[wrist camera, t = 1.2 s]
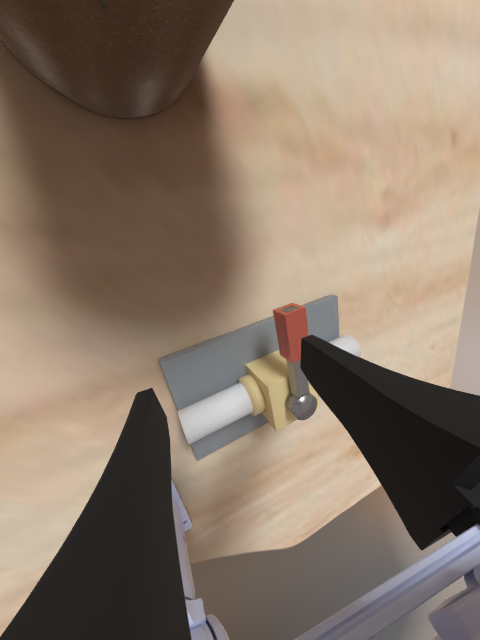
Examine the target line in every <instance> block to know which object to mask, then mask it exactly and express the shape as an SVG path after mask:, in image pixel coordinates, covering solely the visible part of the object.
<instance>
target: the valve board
mask: <svg viewBox="0 0 480 640" xmlns="http://www.w3.org/2000/svg"><path fill="white" fill-rule="evenodd" d="M301 306H303V307H306V316H307V326H308V335H314V336H317V337H319V338H321V339H323V340H325V341H327V342H329V343H331V344H333V345H335V346H337V347H339V348H341V349H343V350H345V351H347V352H349V353H351V354H353V355H355V356H358V357H360V355H361V349H360V346H359V344H358V342H357V341H356V340H355V339H354V338H353V337H351V336H349V335H343V336H341V337H339V318H338V297H337V296H335V295H328V296H326V297H323V298H320V299H317V300H315V301H312V302H309V303H307V304H304V305H301ZM159 363H160V366H161V368H162V371H163V374H164V376H165V379H166V381H167V384H168V387H169V389H170V392H171V394H172V397H173V399H174V402H175V405H176V407H177V410H178V415H179V419H180V422H181V425H182V428H183V431H184V434H185V436H186V439H187V442H188V444H189V445H190V444H191V446H192V449H193V451H194V454H195V457H196V459H197V460H199V459H201V458H203V457H205V456H206V455H208V454H210V453H212V452H214V451H216V450H217V449H219V448H221V447H223V446H225V445H227V444H229V443H230V442H232V441H234V440H236V439H238V438H240V437H242V436H243V435H245V434H247V433H249V432H251V431H253V430H254V429H256V428H258V427H260V426H262V425H264V424H266V423H267V422H270V424H271V425H272V426H273V428H274V429H275V430H276V431H278V430H279V429H281V428H283V427H285V426H287V425H288V424H290V423H292V422H294V421H295V420H297V418H296V417H295V416H294V415H293V414H292V413H291V412H290V411H289V410H288V409H287V407H286V400H287V397H288V395H289V394H290V393H291V389H290V383H289V376H288V369H287V362H286V359H285V358H284V357H282V356H281V355H280V352H279V346H278V339H277V333H276V327H275V320H274V316H272V317H269V318H267V319H264V320H261V321H259V322H256V323H253V324H250V325H248V326H245V327H242V328H240V329H237V330H234V331H232V332H229V333H226V334H224V335H221V336H218V337H216V338H213V339H210V340H208V341H205V342H202V343H200V344H197V345H194V346H192V347H189V348H186V349H183V350H181V351H178V352H175V353H173V354H170V355H167V356H165V357H162V358H159ZM308 383H309V381H308ZM309 392H310V393H311V394H312V395H313V396H315V397H316V399H317V408H319V401H318V393H317V392H316V391H315V390H314V388H313V387H312V386H311V384H310V383H309ZM317 408H316V409H317Z"/></svg>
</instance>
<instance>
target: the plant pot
mask: <svg viewBox="0 0 480 640" xmlns="http://www.w3.org/2000/svg"><path fill="white" fill-rule="evenodd" d="M233 1H234V0H0V40H1V42H2V43H3V44H4V45H5V46H6V47H7V49H8V50H9V51H10V52H11V53H12V54H13V55H14V56H15V57H16V58H17V59H18V61H19V62H20V63H21V64H22V65H23V66H24V67H25V68H26V69H28V70H29V71H30V72H31V73H32V74H33V75H34V76H35V77H37V78H38V79H39V80H40V81H42V82H43V83H45V84H47V85H49V86H50V87H52V88H53V89H55V90H57V91H58V92H60V93H61V94H63V95H64V96H66V97H67V98H69V99H71V100H72V101H74V102H75V103H77V104H78V105H80V106H81V107H83V108H85V109H87V110H89V111H92V112H95V113H98V114H101V115H105V116H109V117H115V118H141V117H147V116H150V115H153V114H156V113H158V112H160V111H162V110H164V109H166V108H168V107H169V106H171V105H172V104H173V103H175V102H176V101H177V100H178V99H179V97H180V96H181V95H182V94H183V92H184V91H185V90H186V88H187V86H188V84H189V82H190V80H191V78H192V76H193V74H194V72H195V70H196V68H197V67H198V65H199V63H200V61H201V59H202V57H203V56H204V54H205V52H206V50H207V48H208V47H209V45H210V43H211V41H212V39H213V37H214V36H215V34H216V32H217V30H218V28H219V27H220V25H221V23H222V21H223V19H224V17H225V16H226V14H227V12H228V10H229V8H230V7H231V5H232V3H233Z"/></svg>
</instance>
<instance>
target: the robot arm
mask: <svg viewBox="0 0 480 640" xmlns="http://www.w3.org/2000/svg"><path fill="white" fill-rule="evenodd" d="M300 368H301V370H302V372H303V373H304V375H305V377H306V378H307V380H308V381H309V383H310V384H311V386H312V387H313V388H314V390H315V391H316V392H317V393H318V395H319V396H320V397H321V398H322V400H323V401H324V402H325V403H326V405H327V406H328V407H329V408H330V410H331V411H332V412H333V413H334V414H335V416H336V417H337V418H338V419H339V421H340V422H341V423H342V425H343V426H344V427H345V429H346V430H347V431H348V433H349V434H350V436H351V437H352V439H353V440H354V442H355V443H356V445H357V446H358V448H359V449H360V451H361V452H362V454H363V455H364V457H365V459H366V460H367V462H368V463H369V465H370V466H371V468H372V470H373V471H374V473H375V475H376V476H377V478H378V480H379V481H380V483H381V485H382V486H383V488H384V490H385V491H386V493H387V495H388V496H389V498H390V500H391V502H392V503H393V505H394V507H395V509H396V510H397V512H398V514H399V516H400V517H401V519H402V521H403V523H404V525H405V527H406V529H407V531H408V532H409V534H410V536H411V537H412V539H413V540H414V541H415V543H416V544H417V546H418V547H419V548H420V549H421V550H424V549H425V548H427V547H428V546H430V545H432V544H433V543H435V542H436V541H438V540H439V539H441V538H443V537H444V536H446V535H447V534H449V533H451V532H452V533H453V534H454V535H455V536H456V538H454V539H452V540H451V541H449V542H448V543H446V544H445V545H443V546H441V547H440V548H438V549H437V550H435V551H433V552H432V553H430V554H429V555H427V556H426V557H424V558H422V559H421V560H419V561H418V562H416V563H415V564H413V565H411V566H410V567H408V568H407V569H405V570H403V571H402V572H400V573H399V574H397V575H396V576H394V577H392V578H391V579H389V580H388V581H386V582H385V583H383V584H381V585H380V586H378V587H377V588H375V589H374V590H372V591H370V592H369V593H367V594H366V595H364V596H362V597H361V598H359V599H358V600H356V601H355V602H353V603H351V604H350V605H348V606H347V607H345V608H344V609H342V610H340V611H339V612H337V613H336V614H334V615H333V616H331V617H329V618H328V619H326V620H325V621H323V622H322V623H320V624H319V625H317V626H315V627H314V628H312V629H311V630H309V631H307V632H306V633H304V634H303V635H301V636H299V637H298V638H296V639H295V640H370V639H371V638H373V637H375V636H376V635H377V634H379V633H380V632H382V631H383V630H385V629H386V628H388V627H389V626H391V625H392V624H393V623H395V622H396V621H398V620H399V619H401V618H402V617H404V616H405V615H406V614H408V613H410V612H411V611H412V610H414V609H415V608H417V607H418V606H420V605H421V604H423V603H424V602H425V601H427V600H428V599H430V598H431V597H433V596H434V595H436V594H437V593H439V592H440V591H442V590H443V589H445V588H446V587H447V586H449V585H450V584H452V583H453V582H455V581H456V580H458V579H459V578H461V577H462V576H463V575H464V579H465V582H466V585H467V588H466V589H465V590H463V591H461V592H459V593H457V594H455V595H453V596H451V597H450V598H448V599H447V600H445V601H444V602H442V603H441V604H440V605H439V606H438V607H436V608H435V609H434V610H433V611H432V612H431V613H429V615H428V618H429V621H430V622H431V624H432V625H433V627H434V629H435V630H436V632H437V633H438V635H437V636H436V637H434V638H433V639H431V640H480V396H477V395H474V394H469V393H465V392H460V391H456V390H453V389H449V388H445V387H441V386H438V385H434V384H431V383H427V382H424V381H420V380H417V379H414V378H411V377H408V376H405V375H402V374H400V373H397V372H394V371H391V370H388V369H386V368H383V367H381V366H378V365H376V364H374V363H371V362H369V361H367V360H364V359H362V358H360V357H358V356H355V355H353V354H351V353H349V352H347V351H345V350H343V349H341V348H339V347H337V346H335V345H333V344H331V343H329V342H327V341H325V340H323V339H321V338H319V337H317V336H314V335H309V336H306V337H303V338H301V361H300ZM191 527H192V522H191V519H190V517H189V515H188V513H187V511H186V509H185V506H184V504H183V502H182V500H181V498H180V496H179V493H178V491H177V489H176V487H175V485H174V483H173V480H172V478H171V455H170V437H169V430H168V423H167V417H166V415H165V413H164V411H163V409H162V407H161V405H160V403H159V401H158V399H157V397H156V395H155V393H154V391H153V389H152V388H150V389H147V390H144V391H141V392H138V393H137V394H136V396H135V399H134V401H133V404H132V407H131V410H130V412H129V415H128V418H127V420H126V423H125V425H124V428H123V430H122V433H121V435H120V437H119V440H118V442H117V445H116V447H115V449H114V451H113V453H112V455H111V458H110V460H109V462H108V464H107V466H106V468H105V470H104V472H103V474H102V476H101V478H100V480H99V482H98V484H97V486H96V488H95V490H94V492H93V494H92V495H91V497H90V499H89V501H88V503H87V504H86V506H85V508H84V510H83V511H82V513H81V515H80V517H79V518H78V520H77V522H76V523H75V525H74V527H73V528H72V530H71V532H70V533H69V535H68V537H67V538H66V540H65V542H64V543H63V545H62V546H61V548H60V550H59V551H58V553H57V554H56V556H55V558H54V559H53V561H52V562H51V564H50V565H49V567H48V568H47V570H46V571H45V573H44V574H43V576H42V577H41V579H40V580H39V582H38V583H37V585H36V586H35V588H34V589H33V591H32V592H31V594H30V595H29V597H28V598H27V600H26V601H25V603H24V604H23V606H22V607H21V608H20V610H19V611H18V613H17V614H16V616H15V617H14V619H13V620H12V621H11V623H10V624H9V625H8V627H7V628H6V630H5V631H4V632H3V634H2V635H1V637H0V640H229V637H228V635H227V633H226V631H225V629H224V627H223V626H222V625H221V623H220V622H219V621H218V619H217V618H216V617H215V616H214V615H213V614H208V615H206V616H205V612H204V608H203V602H202V599H201V598H199V599H196V594H195V588H194V582H193V577H192V571H191V566H190V560H189V555H188V549H187V544H186V538H185V532H186V531H188V530H189V529H191Z"/></svg>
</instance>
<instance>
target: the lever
mask: <svg viewBox="0 0 480 640" xmlns="http://www.w3.org/2000/svg"><path fill="white" fill-rule="evenodd" d="M273 314H274V320H275V327H276V333H277V339H278V346H279V352H280V355H281V356H282V357H284V358H285V359H286V362H287V369H288V376H289V383H290V389H291V393H290V394H289V395H288V397H287V400H286V407H287V409H288V410H289V411H290V412H291V413H292V414H293V415H294V416H295V417H296V418H297V419H299V420H305V419H308V418H309V417H310V416H312V414H313V413H314V412H315V410H316V408H317V399H316V397H315V396H313V395H312V394H311V393H310V392H309V383H308V380H307V378H306V377H305V375H304V373H303V372H302V370H301V368H300V361H301V338H303V337H306V336H309V335H308V326H307V316H306V307H303V306H300V305H297V304H294V303H291V304H288V305H285V306H283V307H280V308H277V309H274V310H273Z"/></svg>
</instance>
